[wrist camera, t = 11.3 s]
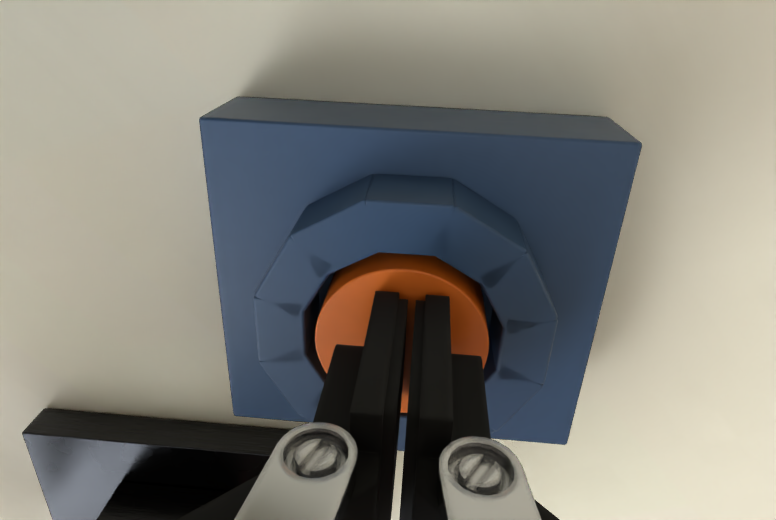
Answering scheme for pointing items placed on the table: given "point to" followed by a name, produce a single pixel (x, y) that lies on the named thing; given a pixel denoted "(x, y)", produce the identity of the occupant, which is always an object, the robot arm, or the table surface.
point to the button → (413, 281)
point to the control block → (415, 238)
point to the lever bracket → (140, 463)
